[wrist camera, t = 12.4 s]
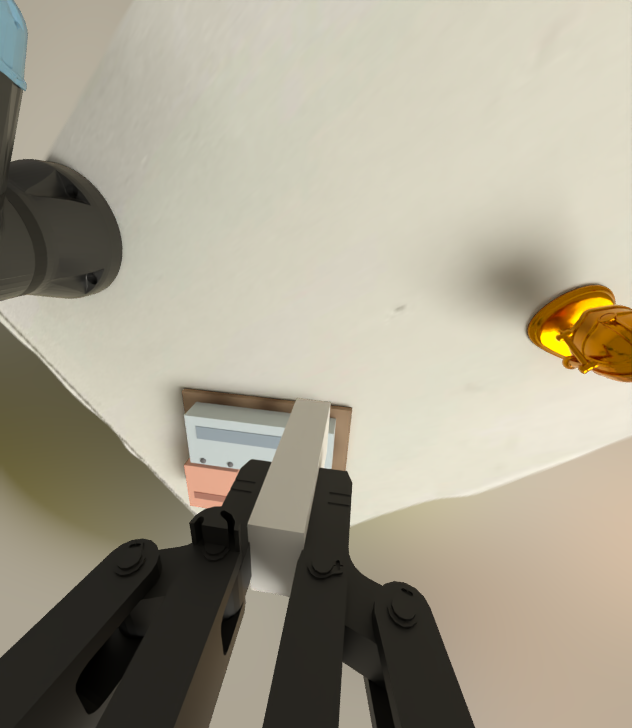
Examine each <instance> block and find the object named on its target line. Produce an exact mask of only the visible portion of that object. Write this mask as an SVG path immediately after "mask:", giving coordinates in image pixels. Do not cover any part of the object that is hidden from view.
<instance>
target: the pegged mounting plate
mask: <svg viewBox="0 0 632 728" xmlns="http://www.w3.org/2000/svg"><path fill="white" fill-rule="evenodd" d="M290 414H291V413H285V412H277V411H268V410H260V409H252V408H244V407H235V406H227V405H219V404H210V403H202V402H196V403H195V404H194V405H193V406H192V407H191V408H190V409H189V410H188V411H187V412H186V413H185V415H184V419H185V426H186V433H187V440H188V448H189V455H190V462H191V463H198V464H205V465H212V466H219V467H226V468H233V469H241V467H242V466H244V465H245V464H246V463H247V462H248V461H249V460H251V459H255V460H263V461H270V462H272V460H273V457H274V455H275V452H276V450H277V447H278V445H279V442H280V440H281V437H282V435H283V432H284V429H285V427H286V424H287V422H288V419H289V417H290ZM335 425H336V419H335V418H329V430H328V443H327V454H326V460H325V465H324V468H327V469H332V460H333V449H334V437H335Z"/></svg>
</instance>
